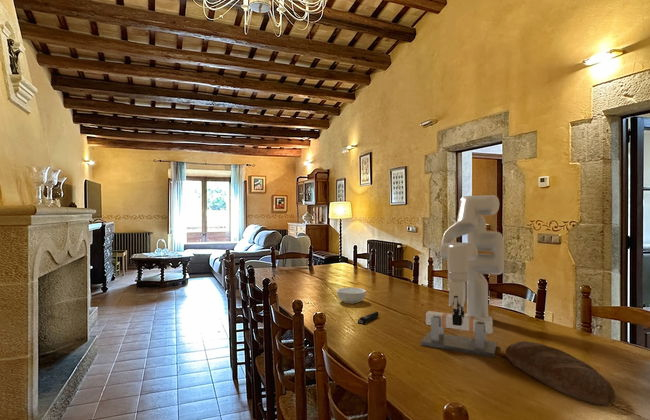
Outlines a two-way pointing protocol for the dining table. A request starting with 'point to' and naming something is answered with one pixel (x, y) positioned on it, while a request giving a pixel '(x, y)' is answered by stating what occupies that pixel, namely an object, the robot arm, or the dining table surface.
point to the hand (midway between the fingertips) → (458, 322)
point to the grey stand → (459, 341)
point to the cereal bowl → (351, 295)
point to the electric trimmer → (368, 318)
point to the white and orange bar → (467, 321)
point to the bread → (561, 372)
